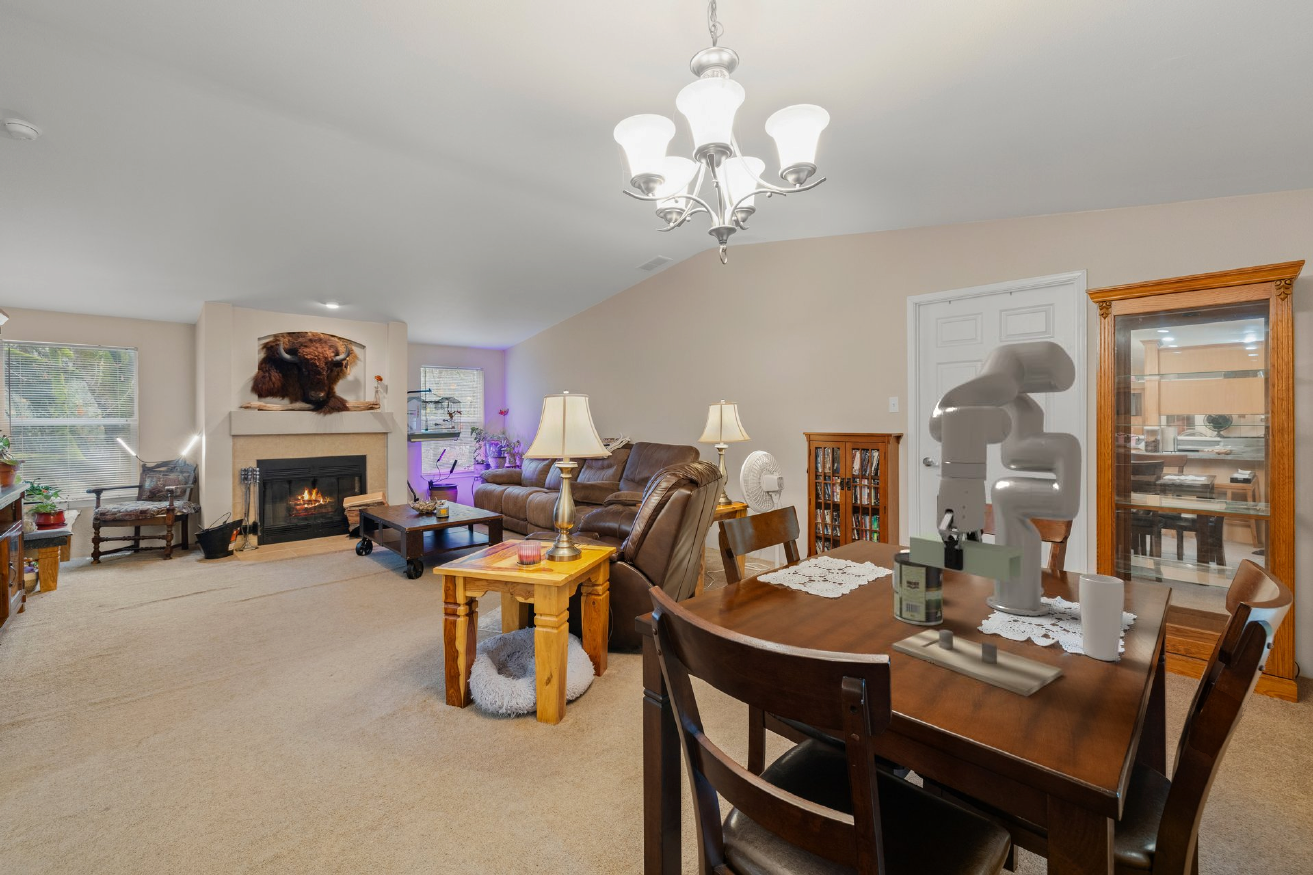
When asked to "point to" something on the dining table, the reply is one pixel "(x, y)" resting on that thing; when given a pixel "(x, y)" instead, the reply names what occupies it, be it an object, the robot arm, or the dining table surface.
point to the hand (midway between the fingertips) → (962, 565)
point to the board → (979, 661)
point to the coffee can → (917, 592)
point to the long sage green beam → (969, 557)
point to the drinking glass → (1101, 615)
